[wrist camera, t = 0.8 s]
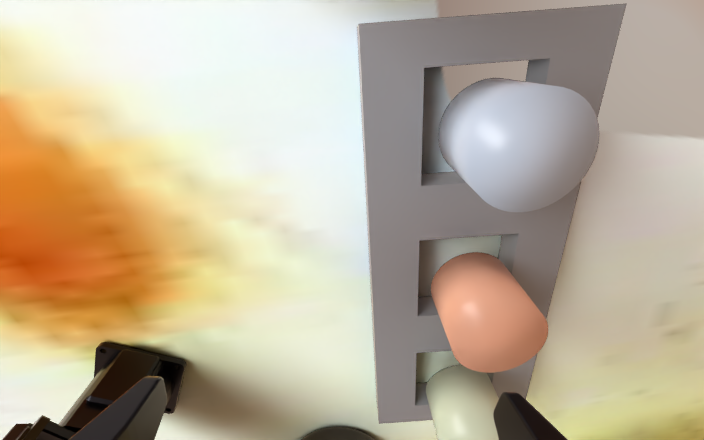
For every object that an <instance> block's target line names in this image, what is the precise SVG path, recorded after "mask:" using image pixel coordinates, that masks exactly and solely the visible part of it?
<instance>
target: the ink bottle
mask: <svg viewBox="0 0 704 440" xmlns="http://www.w3.org/2000/svg"><path fill="white" fill-rule="evenodd" d="M301 440H375V439H374V438H373V437H371V436H370V435H368V434H366V433H364V432H361V431H358V430H355V429H351V428H344V427H329V428H323V429H320V430H317V431H314V432H312V433H310V434H308V435H307V436H305V437H304V438H303V439H301Z"/></svg>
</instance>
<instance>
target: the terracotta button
mask: <svg viewBox="0 0 704 440" xmlns="http://www.w3.org/2000/svg"><path fill="white" fill-rule="evenodd" d="M431 295H432V298H433V301H434V303H435V306H436V309H437V311H438V314H439V317H440V319H441V322H442V325H443V327H444V330H445V333H446V335H447V338H448V341H449V343H450V346H451V349H452V351H453V354H454V356H455V358H456V359H457V361H458V362H459V363H460V364H462V365H463V366H465V367H466V368H468V369H471V370H474V371H478V372H486V373H494V372H501V371H506V370H509V369H512V368H515V367H517V366H520V365H522V364H523V363H525V362H527V361H528V360H530V359H531V358H532V357H534V356H535V355H536V354H537V353H538V352H539V351H540V349H541V348H542V347H543V345H544V343H545V341H546V339H547V335H548V324H547V321H546V319H545V317H544V316H543V314H542V313H541V312H540V310H539V309H538V308H537V306H536V305H535V304H534V303H533V301H532V300H531V299H530V297H529V296H528V295H527V294H526V292H525V291H524V290H523V288H522V287H521V286H520V285H519V283H518V282H517V281H516V279H515V278H514V277H513V276H512V274H511V273H510V272H509V270H508V269H507V268H506V267H505V265H504V264H503V263H502V262H501V261H500V260H499V259H498V258H496V257H494V256H492V255H490V254H486V253H479V252H473V253H466V254H462V255H459V256H457V257H455V258H452V259H451V260H449V261H448V262H446V263H445V264H444V265H443V266H442V267H440V269H439V270H438V271H437V272H436V274H435V275H434V278H433V280H432V283H431Z"/></svg>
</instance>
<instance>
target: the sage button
mask: <svg viewBox="0 0 704 440" xmlns="http://www.w3.org/2000/svg"><path fill="white" fill-rule="evenodd" d="M426 395H427V399H428V403H429V407H430V411H431V415H432V419H433V423H434V427H435V431H436V435H437V439H438V440H499V438H498V434H497V430H496V426H495V422H494V417H493V413H494V409H495V406H496V404H497V402H498V400H499V398H498V396H497V394H496V392H495V389H494V387H493V385H492V383H491V381H490V378H489V376H488V375H487V373H486V372H478V371H474V370H471V369H468V368H466V367H465V366H463V365H455V366H451V367H447V368H445V369H443V370H441V371H439V372H437V373H436V374H435V375H433V376H432V377H431V378H430V380H429V381H428V383H427V386H426Z"/></svg>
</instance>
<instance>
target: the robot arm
mask: <svg viewBox="0 0 704 440" xmlns="http://www.w3.org/2000/svg"><path fill="white" fill-rule="evenodd" d="M185 368H186V362H185V361H184V360H181V359H177V358H173V357H169V356H164V355H160V354H155V353H151V352H147V351H142V350H138V349H134V348H129V347H125V346H120V345H116V344H112V343H107V342H102V343H100V344H99V346H98V347H97V348H96V357H95V371H94V379H93V380H92V381H91V383H90V384H89V385H88V387H87V388H86V389H85V391H84V392H83V393H82V394H81V396H80V397H79V398H78V400H77V401H76V402H75V404H74V405H73V406H72V407H71V409H70V410H69V411H68V413H67V414H66V415H65V417H64V418H63V419H62V420H61V422H60V423H59V424H56V423H54V422H52V421H50V419H49V418H47V417H45V416H43V415H42V416H41V417H40V418H39V419H38V420H37V421H36V422H35V423H34V424H31V423H29V424H16V425H15V426H14V427H13V428H12V429H11V430H10V431H9V432H8V434H7V435H6V436H5V437H4V438H3V439H2V440H154V439H155V436H156V433H157V430H158V428H159V425H160V422H161V419H162V416H163V414H164V413H168V414H170V413H173V412H174V410H175V408H176V406H177V402H178V397H179V393H180V389H181V385H182V381H183V376H184V372H185ZM493 417H494V422H495V426H496V430H497V434H498V438H499V440H567V439H566V438H565V437H564V436H563V435H562V434H561V433H560V432H559V431H558V430H557V429H556V428H555V427H554V426H553V425H552V424H551V423H550V422H549V421H548V420H547V419H545V418H544V417H543V416H542V415H541V414H540V413H539V412H538V411H537V410H536V409H535V408H534V407H533V406H532V405H531V404H530V403H529V402H528V401H527V400H526V399H525V398H524V397H522V396H521V395H520V394H519V393H516V392H503V393H502V394H501V395H500V398H499V400H498V402H497V404H496V406H495V409H494V413H493Z"/></svg>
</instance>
